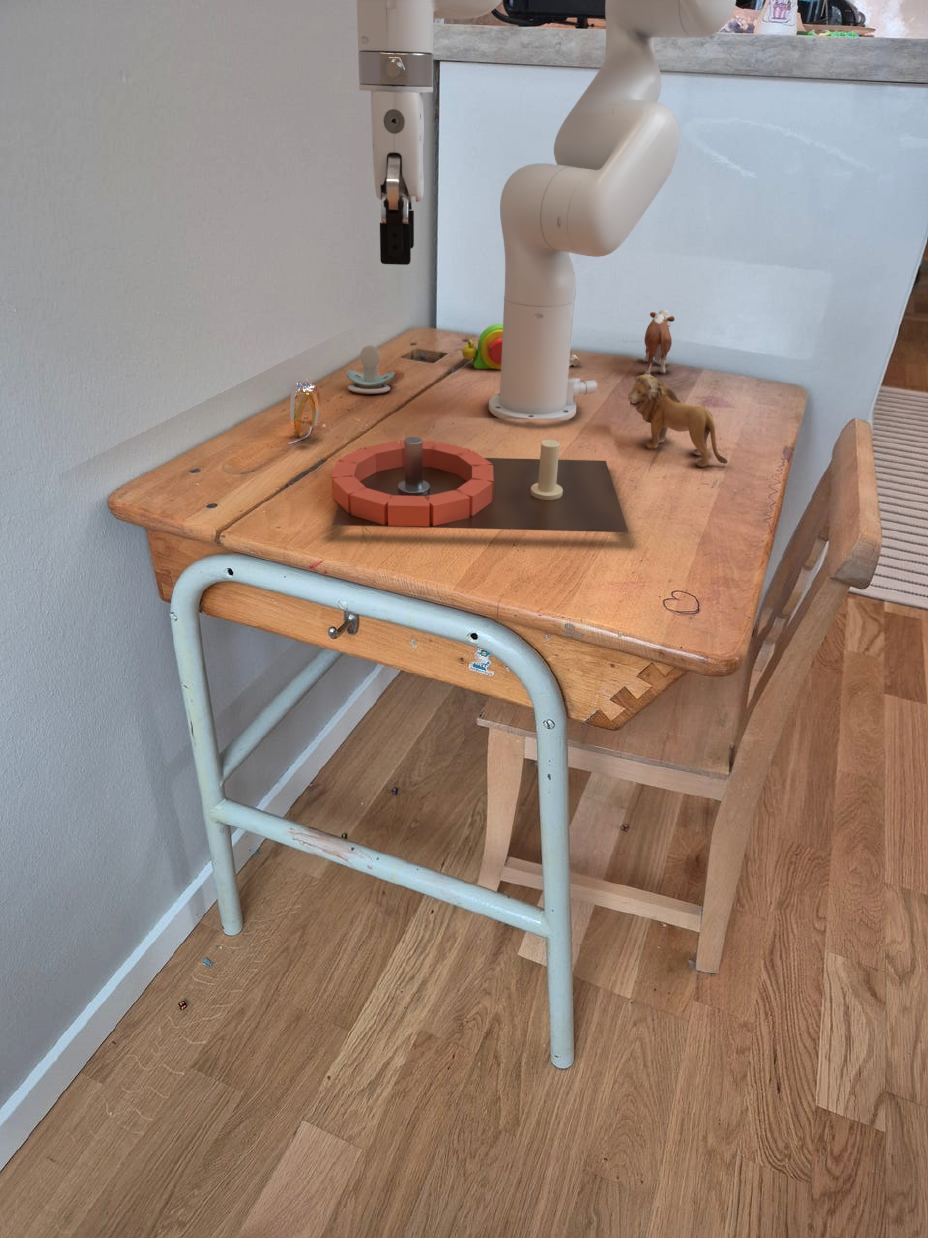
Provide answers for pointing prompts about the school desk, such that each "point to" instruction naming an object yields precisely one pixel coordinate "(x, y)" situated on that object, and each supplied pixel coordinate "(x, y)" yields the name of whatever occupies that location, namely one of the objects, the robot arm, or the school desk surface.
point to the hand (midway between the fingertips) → (397, 255)
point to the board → (519, 497)
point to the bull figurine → (658, 339)
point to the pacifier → (369, 374)
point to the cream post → (548, 472)
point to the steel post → (413, 469)
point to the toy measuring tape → (492, 349)
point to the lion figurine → (673, 416)
